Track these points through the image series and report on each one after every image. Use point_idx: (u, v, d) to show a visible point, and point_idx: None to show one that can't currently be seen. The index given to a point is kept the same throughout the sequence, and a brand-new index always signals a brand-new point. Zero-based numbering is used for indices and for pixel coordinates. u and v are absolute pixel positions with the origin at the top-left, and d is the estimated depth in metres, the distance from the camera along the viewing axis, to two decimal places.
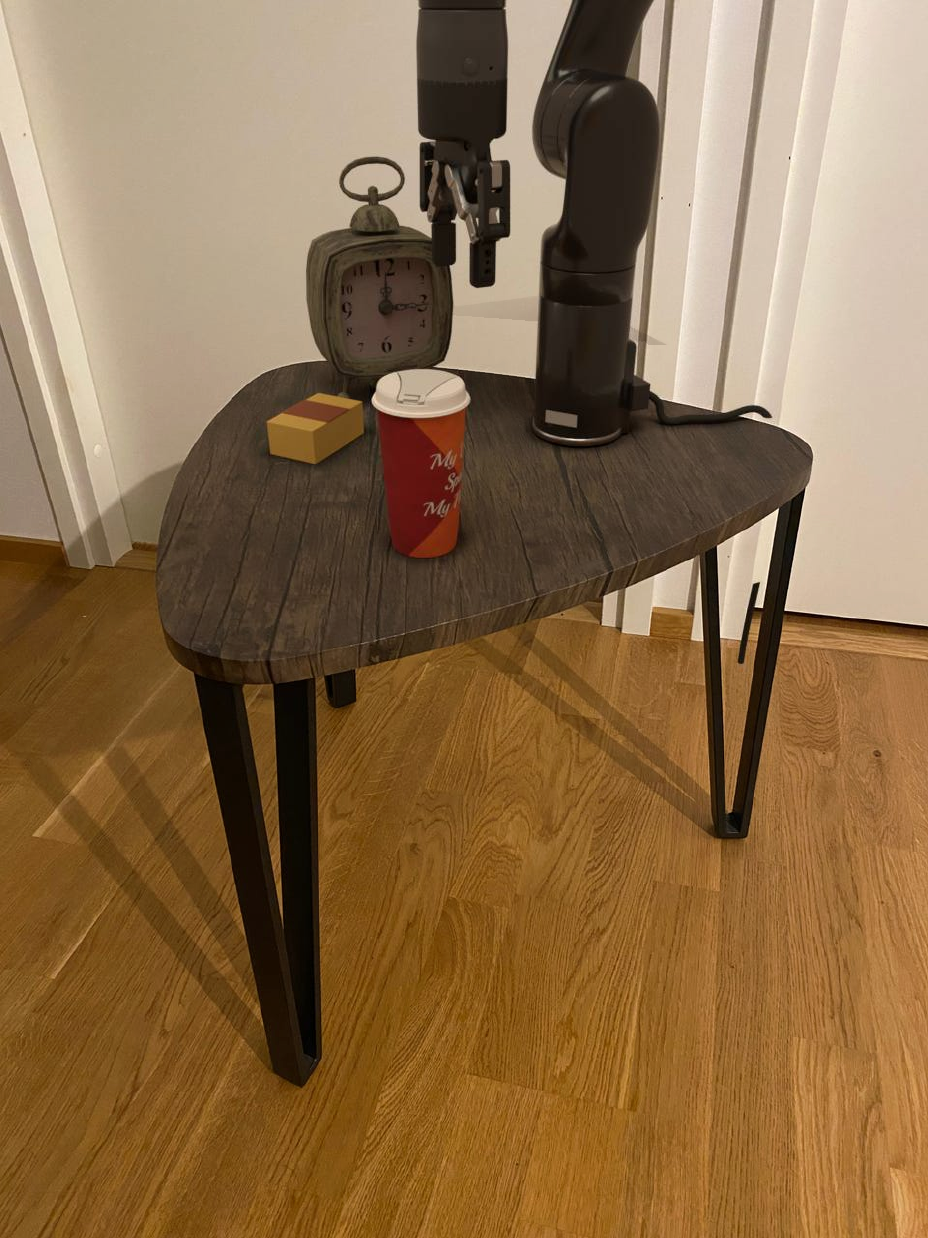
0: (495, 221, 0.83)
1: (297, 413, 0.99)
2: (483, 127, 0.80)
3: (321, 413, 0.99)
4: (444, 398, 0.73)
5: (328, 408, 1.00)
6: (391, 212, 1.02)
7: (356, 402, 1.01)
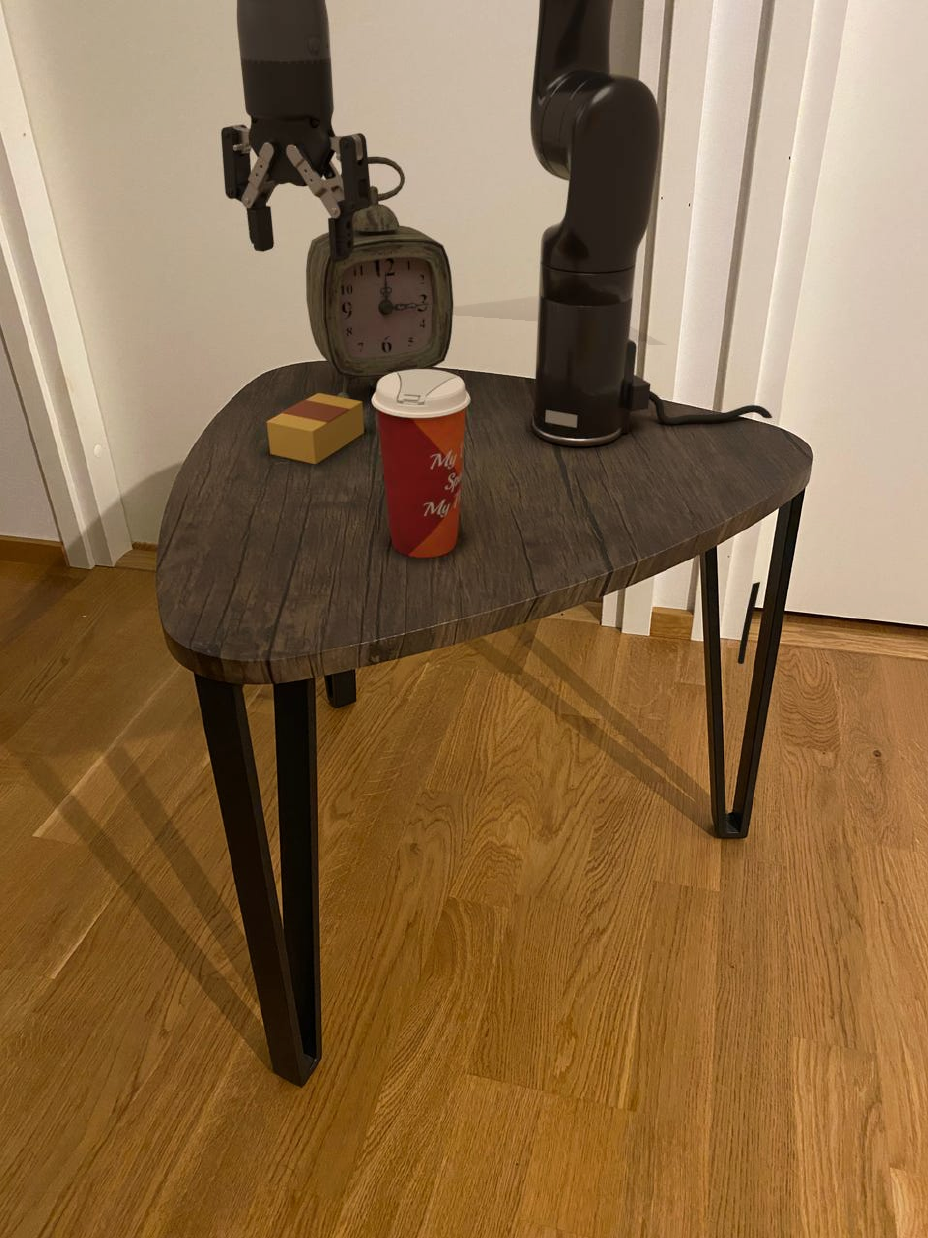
0: None
1: (297, 413, 0.99)
2: (327, 104, 0.83)
3: (321, 413, 0.99)
4: (444, 398, 0.73)
5: (328, 408, 1.00)
6: (391, 212, 1.02)
7: (356, 402, 1.01)
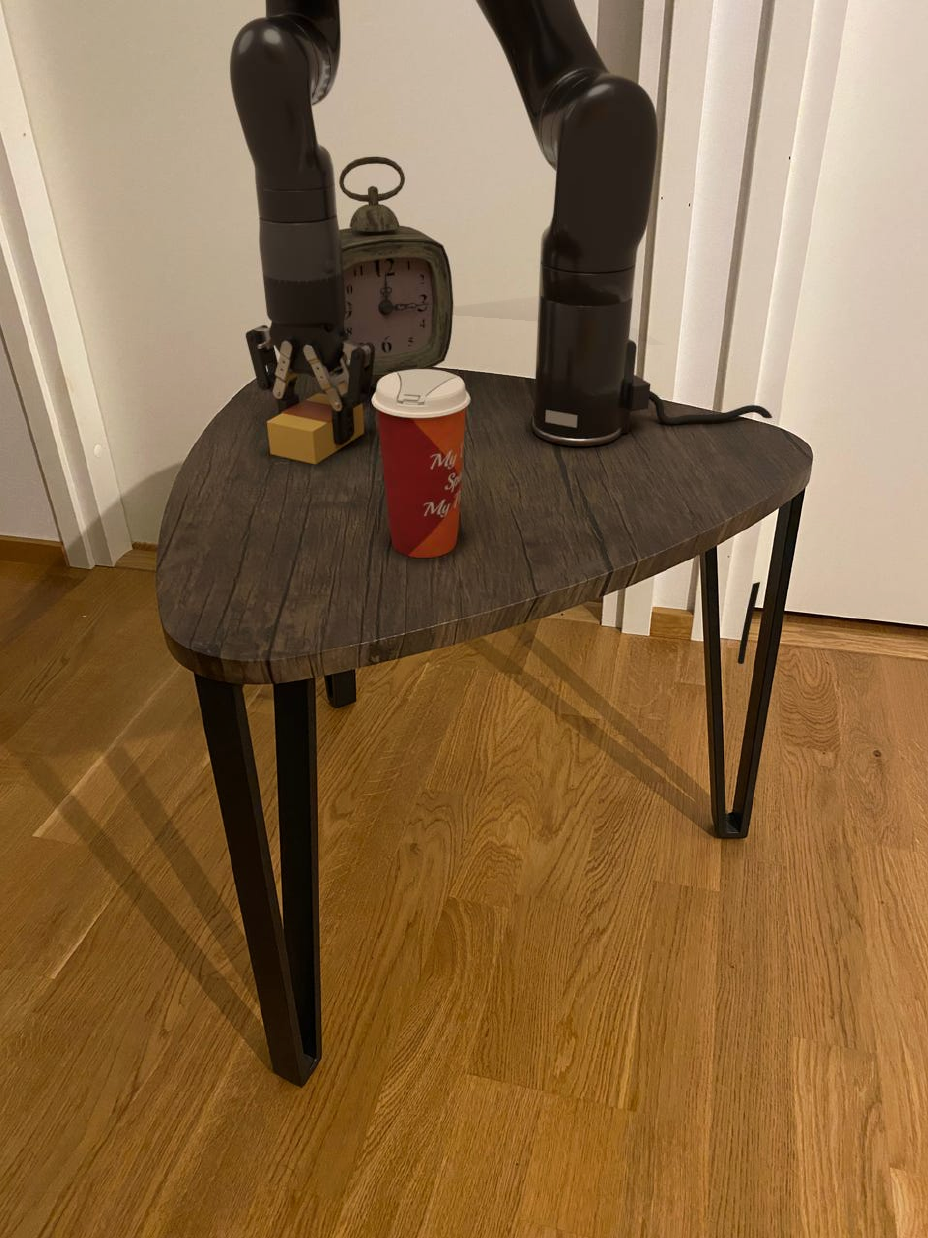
0: None
1: (297, 413, 0.99)
2: (340, 310, 0.92)
3: (321, 413, 0.99)
4: (444, 398, 0.73)
5: (328, 408, 1.00)
6: (391, 212, 1.02)
7: None
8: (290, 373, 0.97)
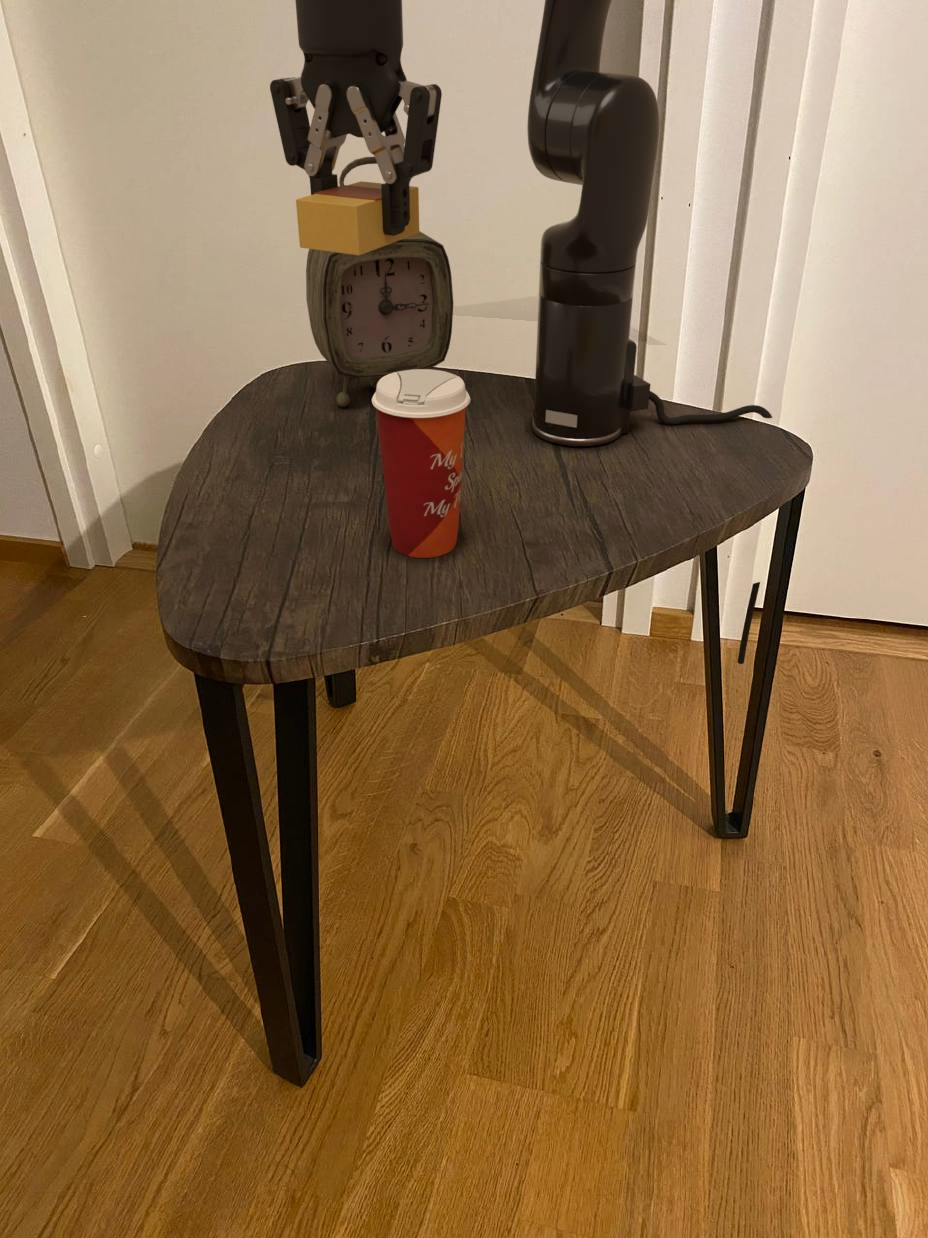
0: None
1: (336, 194, 0.76)
2: (397, 36, 0.69)
3: (366, 194, 0.76)
4: (444, 398, 0.73)
5: (375, 190, 0.77)
6: None
7: (411, 187, 0.78)
8: (327, 137, 0.74)
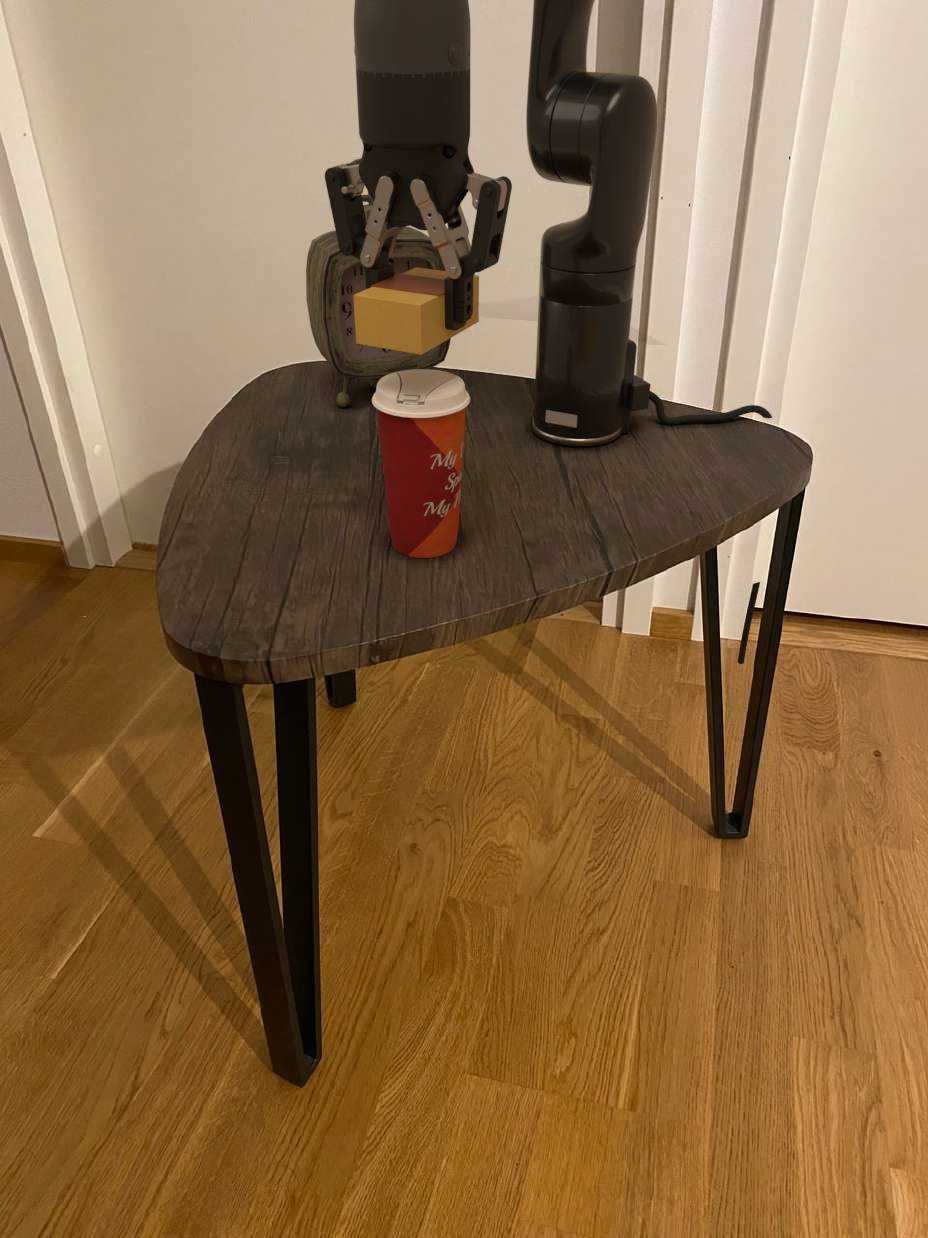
0: (470, 249, 0.70)
1: (394, 287, 0.71)
2: (465, 127, 0.65)
3: (426, 286, 0.71)
4: (444, 398, 0.73)
5: (435, 281, 0.72)
6: None
7: None
8: (386, 228, 0.70)
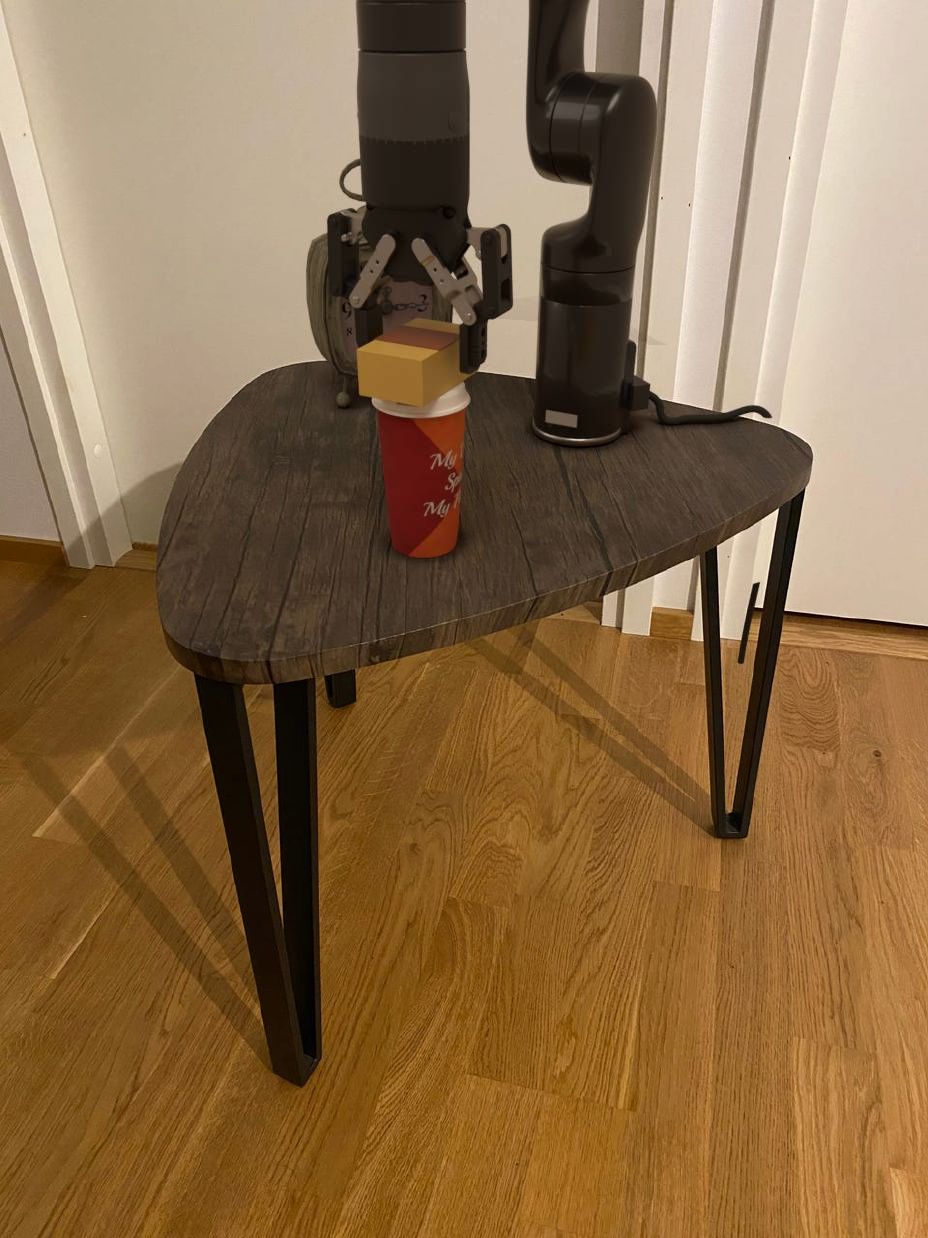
0: (481, 295, 0.71)
1: (396, 340, 0.73)
2: (465, 189, 0.67)
3: (428, 339, 0.73)
4: (444, 398, 0.73)
5: (436, 334, 0.74)
6: None
7: None
8: (380, 277, 0.72)
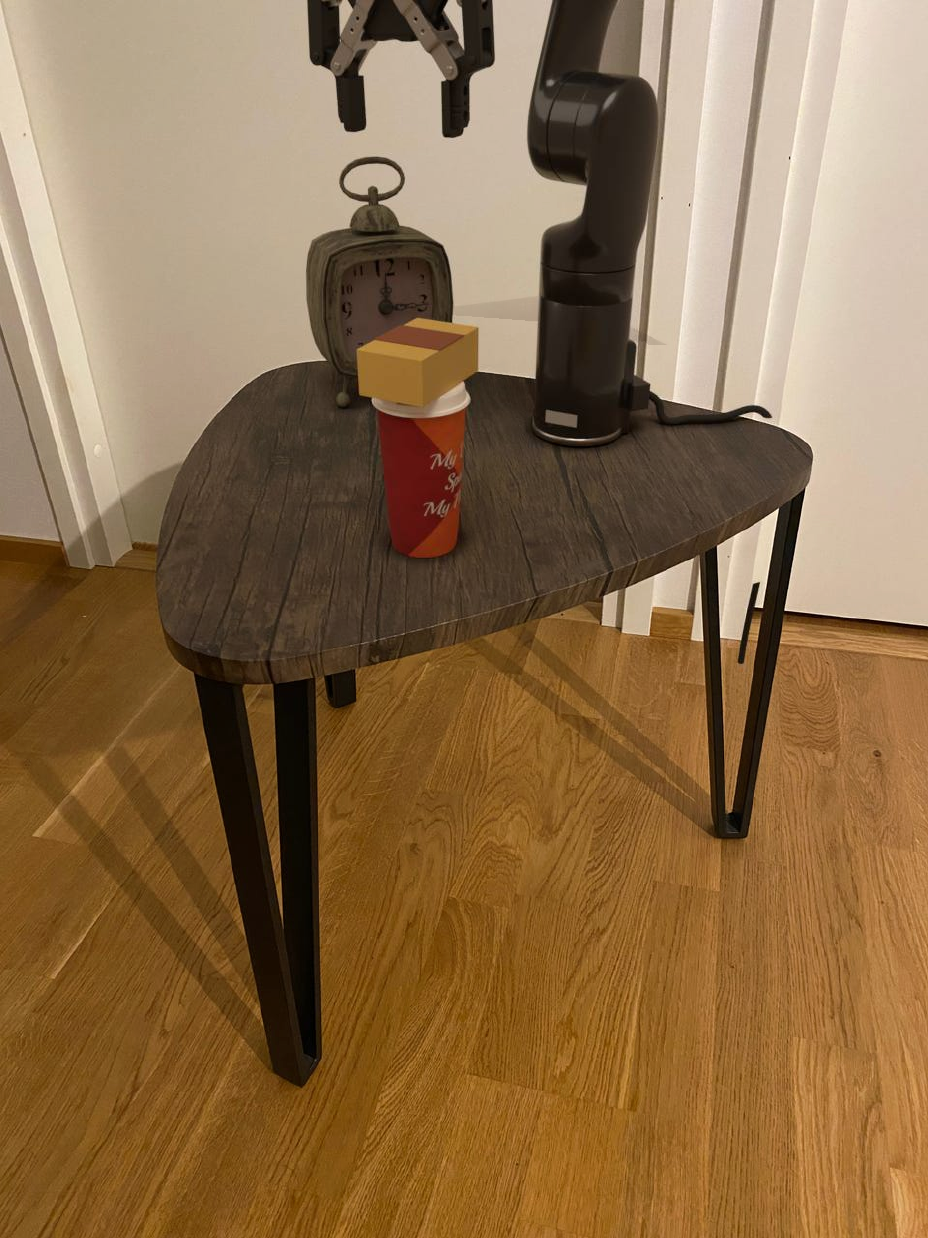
0: (463, 51, 0.70)
1: (396, 340, 0.73)
2: None
3: (427, 340, 0.73)
4: (444, 398, 0.73)
5: (436, 334, 0.74)
6: (391, 212, 1.02)
7: (471, 328, 0.76)
8: (360, 39, 0.72)
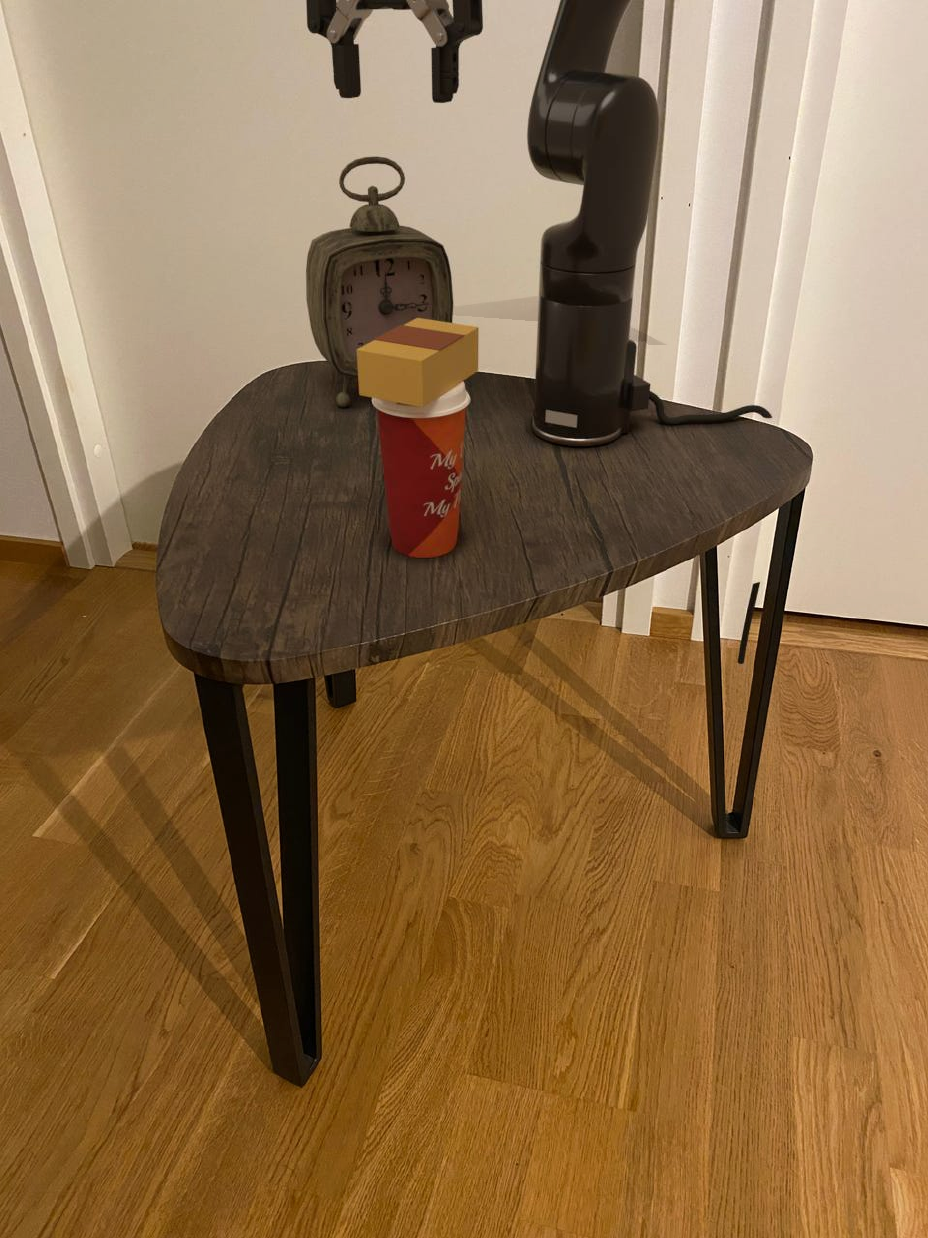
0: (453, 20, 0.74)
1: (396, 340, 0.73)
2: None
3: (427, 340, 0.73)
4: (444, 398, 0.73)
5: (436, 334, 0.74)
6: (391, 212, 1.02)
7: (471, 328, 0.76)
8: (356, 8, 0.75)
